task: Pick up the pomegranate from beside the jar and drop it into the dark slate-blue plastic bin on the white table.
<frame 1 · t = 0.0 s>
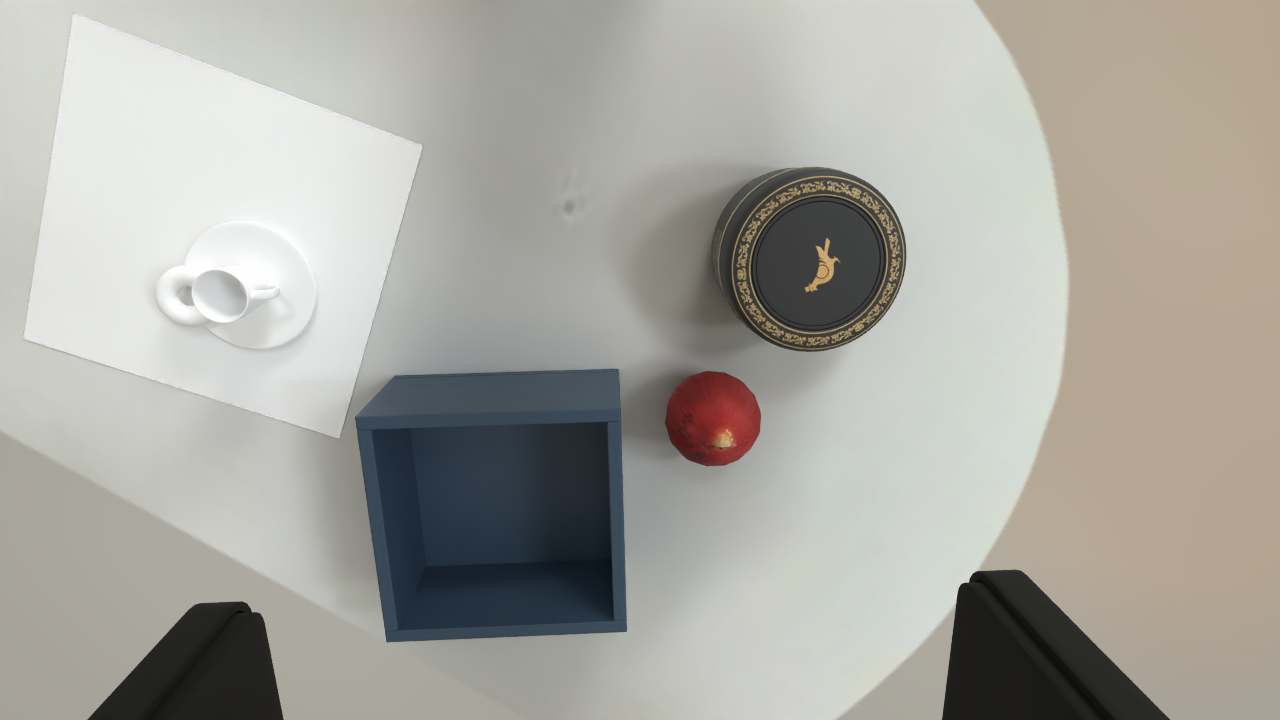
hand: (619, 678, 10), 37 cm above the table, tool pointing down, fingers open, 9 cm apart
pomegranate: (704, 397, 48), on the table
teacup and saucer: (219, 244, 44), on the table
jar: (783, 246, 45), on the table
bin: (514, 473, 48), on the table
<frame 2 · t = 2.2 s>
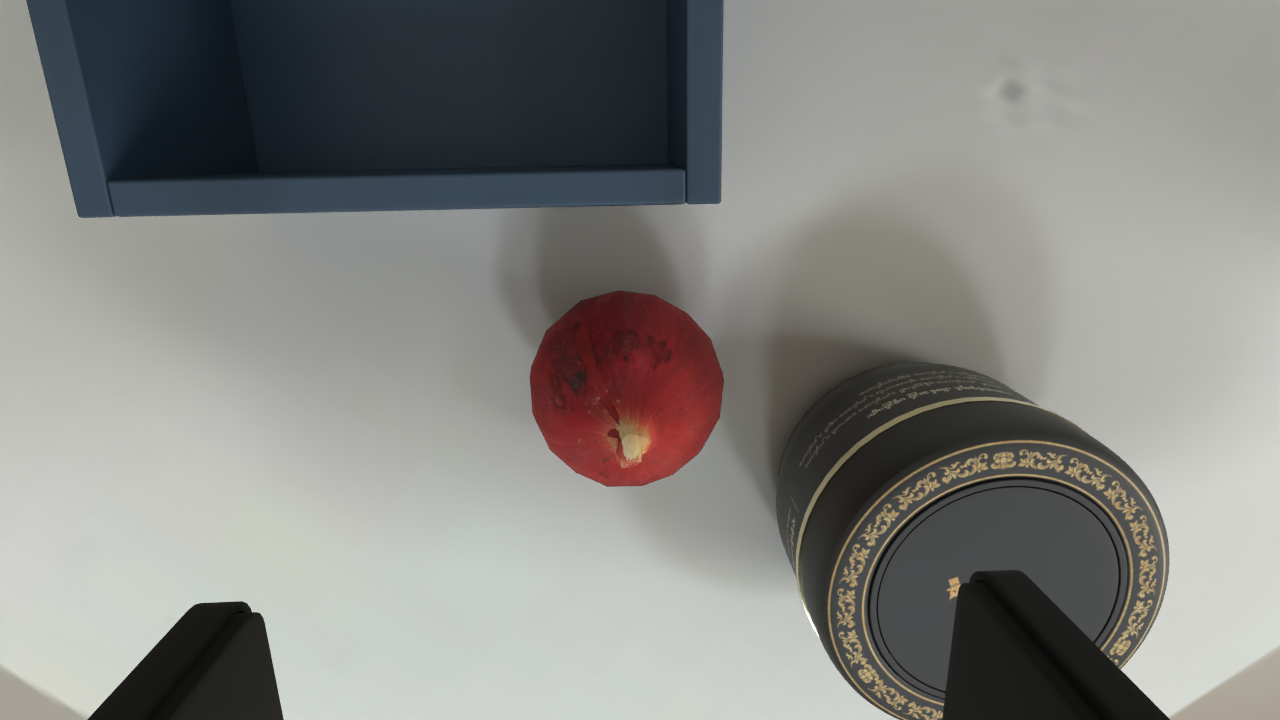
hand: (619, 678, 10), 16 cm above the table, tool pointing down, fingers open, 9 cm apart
pomegranate: (626, 352, 25), on the table
jar: (893, 472, 27), on the table
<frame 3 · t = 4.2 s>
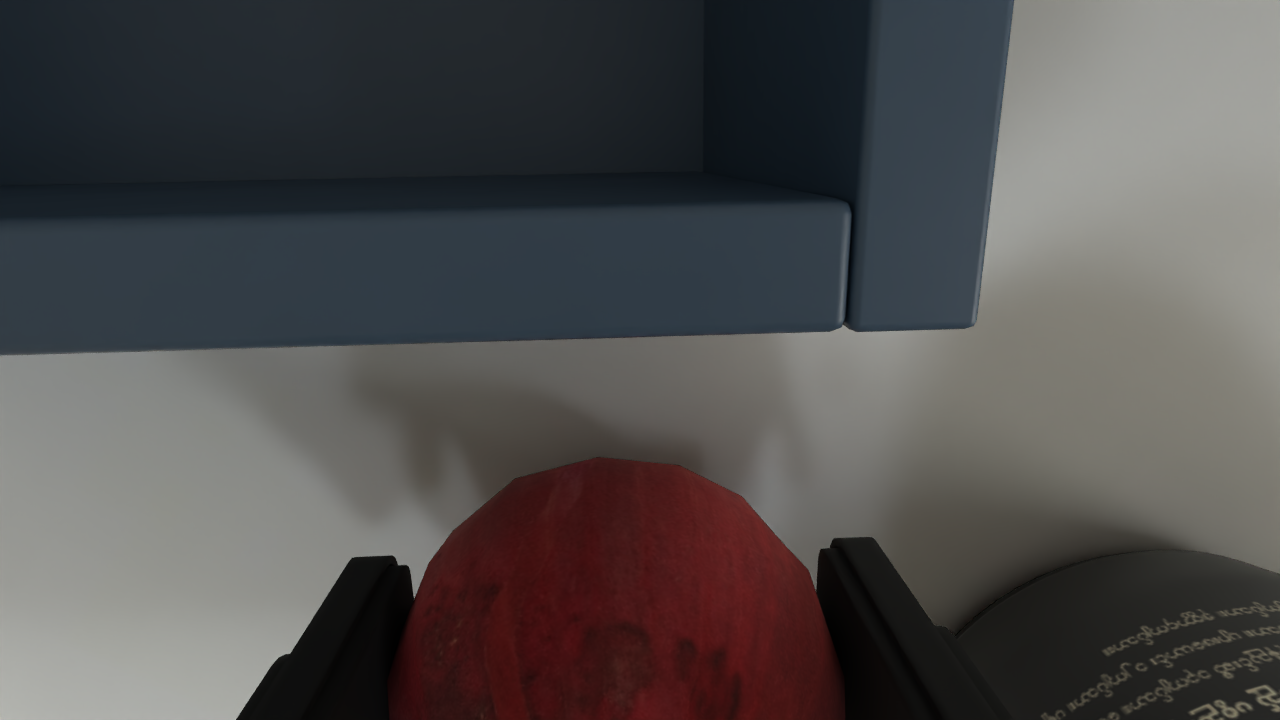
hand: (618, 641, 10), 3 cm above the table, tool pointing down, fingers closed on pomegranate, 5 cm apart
pomegranate: (614, 530, 13), on the table, touching gripper
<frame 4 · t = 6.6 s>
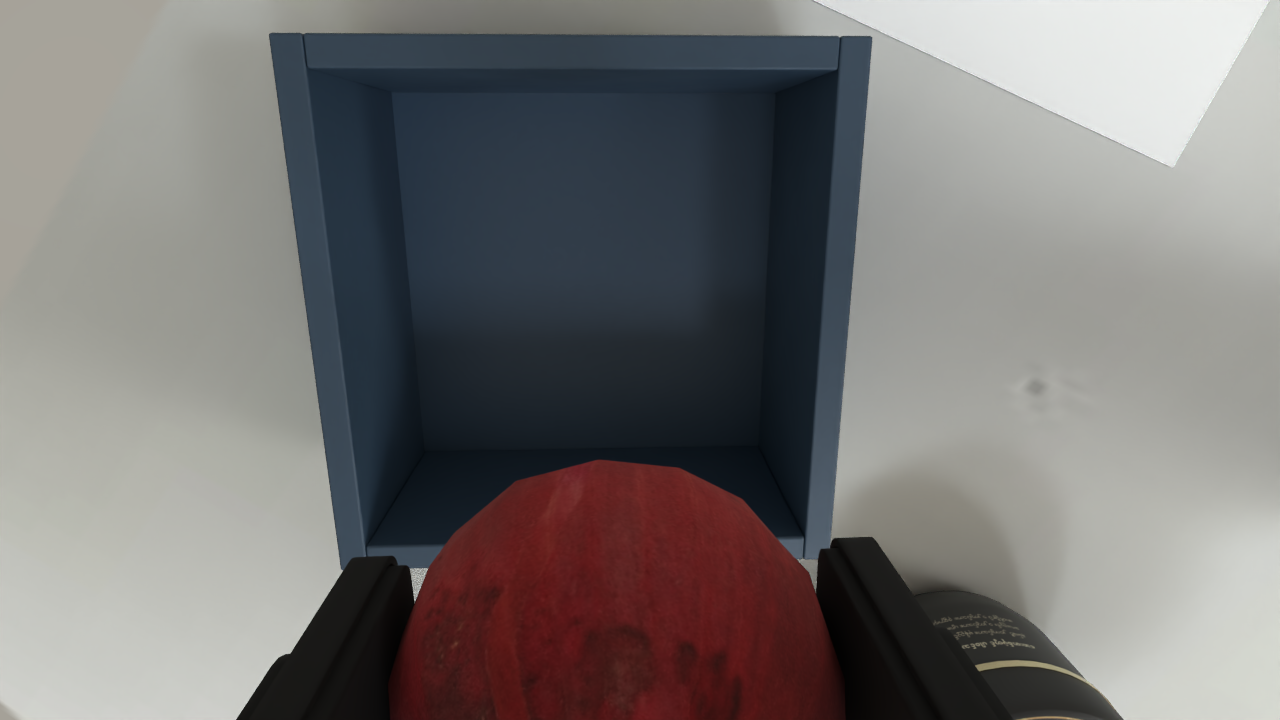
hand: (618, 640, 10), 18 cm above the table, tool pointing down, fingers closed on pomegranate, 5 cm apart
pomegranate: (615, 532, 13), point 14 cm above the table, touching gripper
jar: (928, 669, 32), on the table
bin: (590, 280, 26), on the table
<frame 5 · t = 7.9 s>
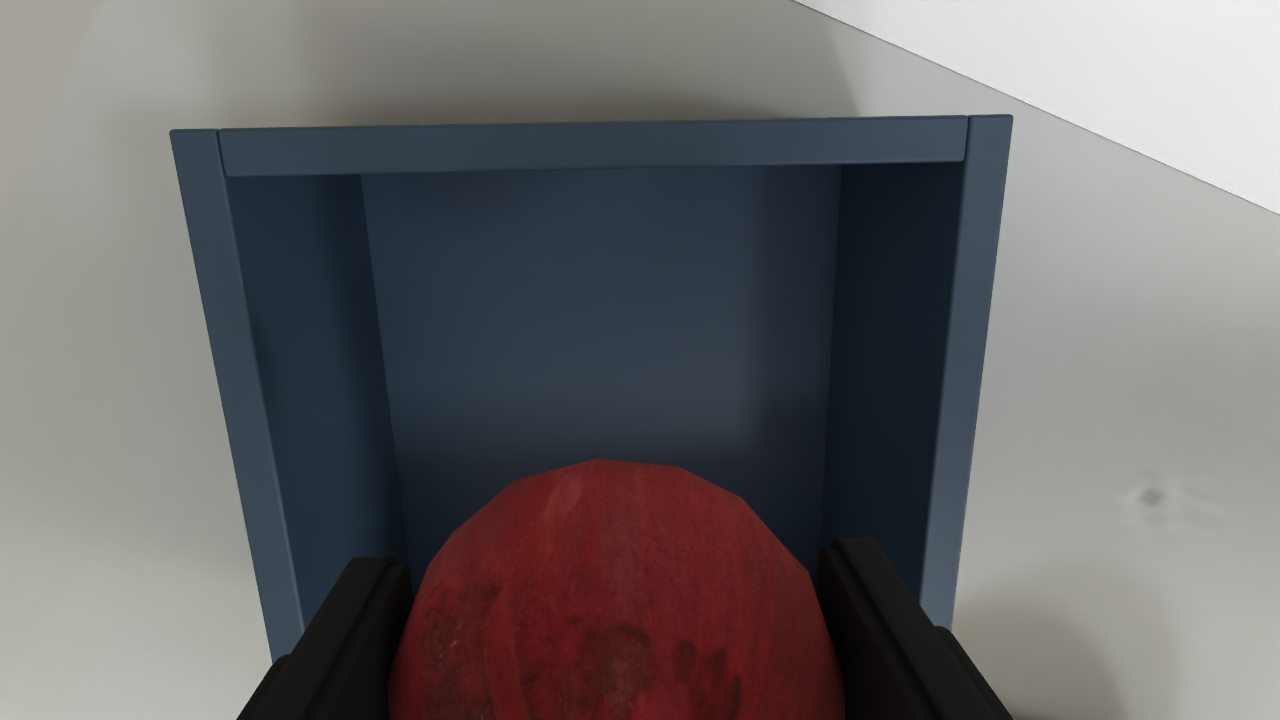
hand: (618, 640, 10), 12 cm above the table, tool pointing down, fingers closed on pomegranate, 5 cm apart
pomegranate: (614, 531, 13), point 9 cm above the table, touching gripper
bin: (611, 385, 22), on the table
when the fingers open (9 cm above the table, at t = 9.0 s): pomegranate drops 5 cm, resting on bin.
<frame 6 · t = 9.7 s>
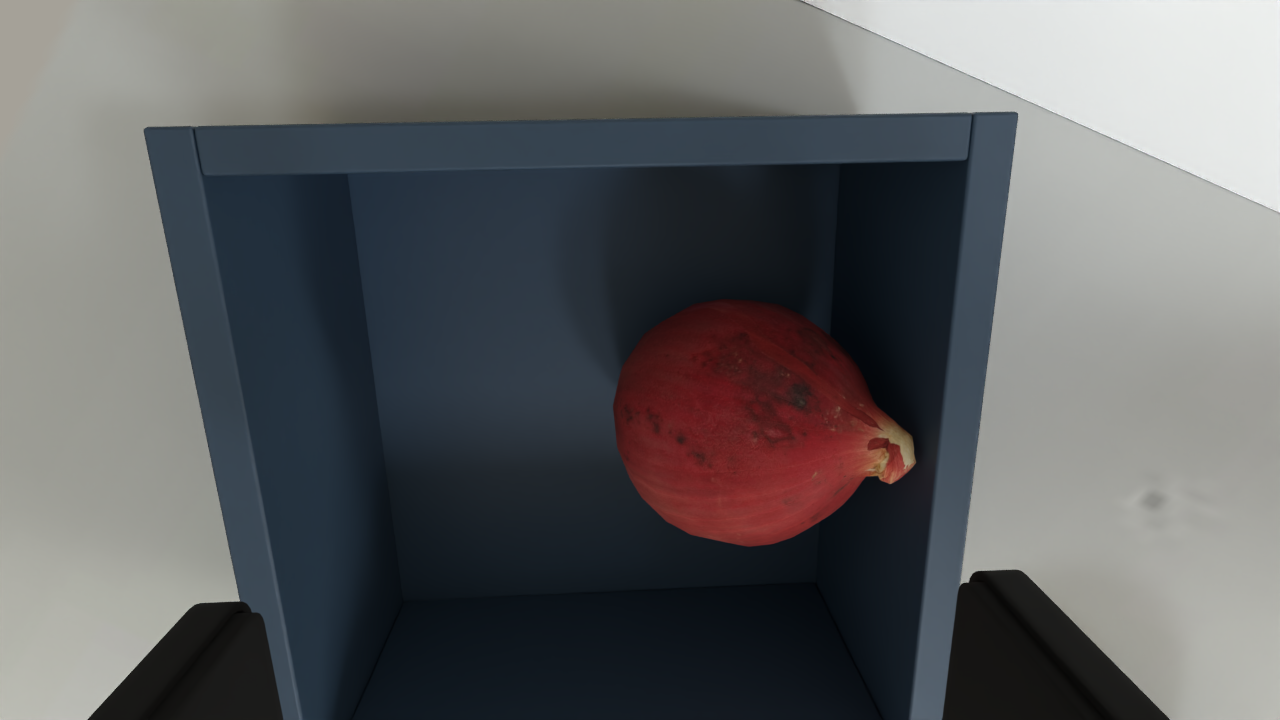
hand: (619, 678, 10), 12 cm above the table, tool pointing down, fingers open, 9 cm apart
pomegranate: (623, 402, 20), point 1 cm above the table, touching bin
bin: (605, 389, 21), on the table
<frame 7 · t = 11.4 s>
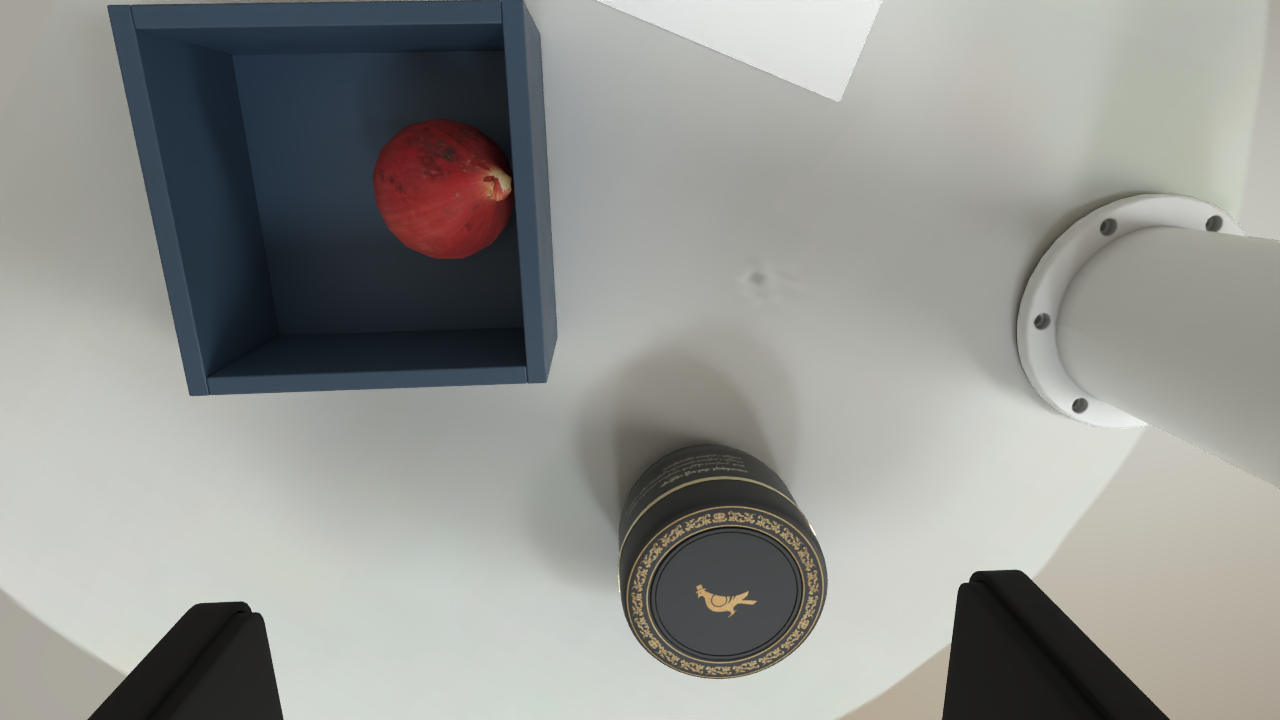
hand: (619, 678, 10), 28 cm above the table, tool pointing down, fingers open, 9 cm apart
pomegranate: (402, 198, 33), point 1 cm above the table, touching bin
jar: (703, 513, 41), on the table
bin: (399, 198, 35), on the table
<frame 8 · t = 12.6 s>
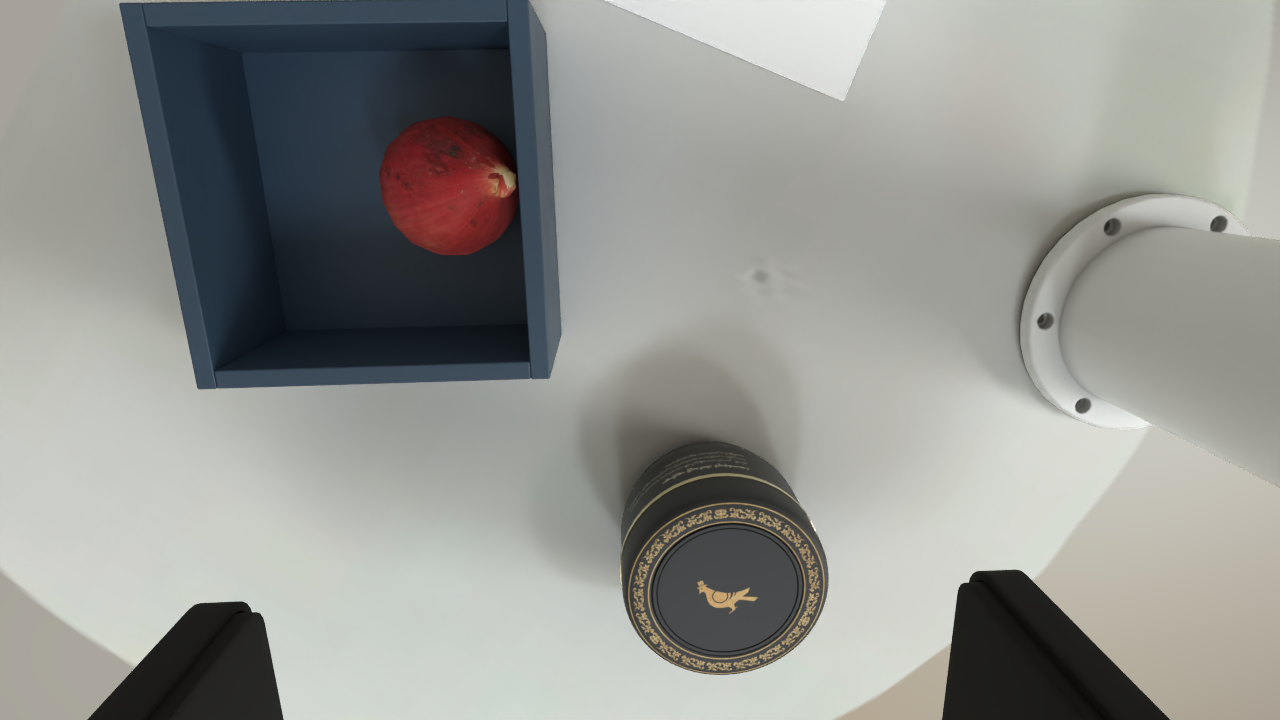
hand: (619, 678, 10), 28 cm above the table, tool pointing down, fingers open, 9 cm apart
pomegranate: (408, 195, 34), point 1 cm above the table, touching bin
jar: (705, 511, 41), on the table
bin: (405, 195, 35), on the table
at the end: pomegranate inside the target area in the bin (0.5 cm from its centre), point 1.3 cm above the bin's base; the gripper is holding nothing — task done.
